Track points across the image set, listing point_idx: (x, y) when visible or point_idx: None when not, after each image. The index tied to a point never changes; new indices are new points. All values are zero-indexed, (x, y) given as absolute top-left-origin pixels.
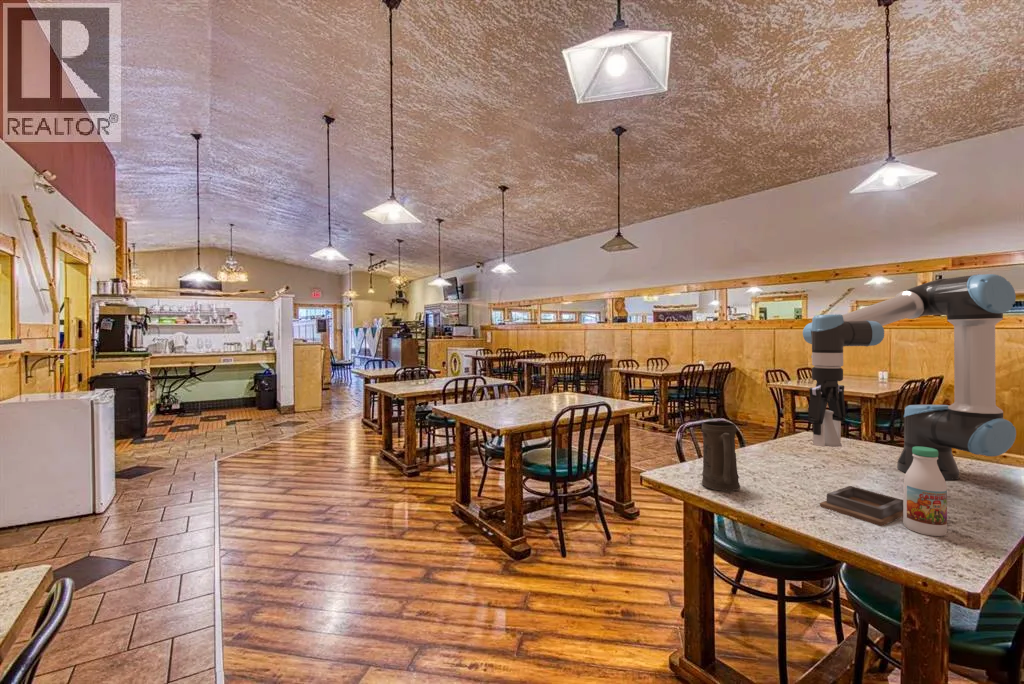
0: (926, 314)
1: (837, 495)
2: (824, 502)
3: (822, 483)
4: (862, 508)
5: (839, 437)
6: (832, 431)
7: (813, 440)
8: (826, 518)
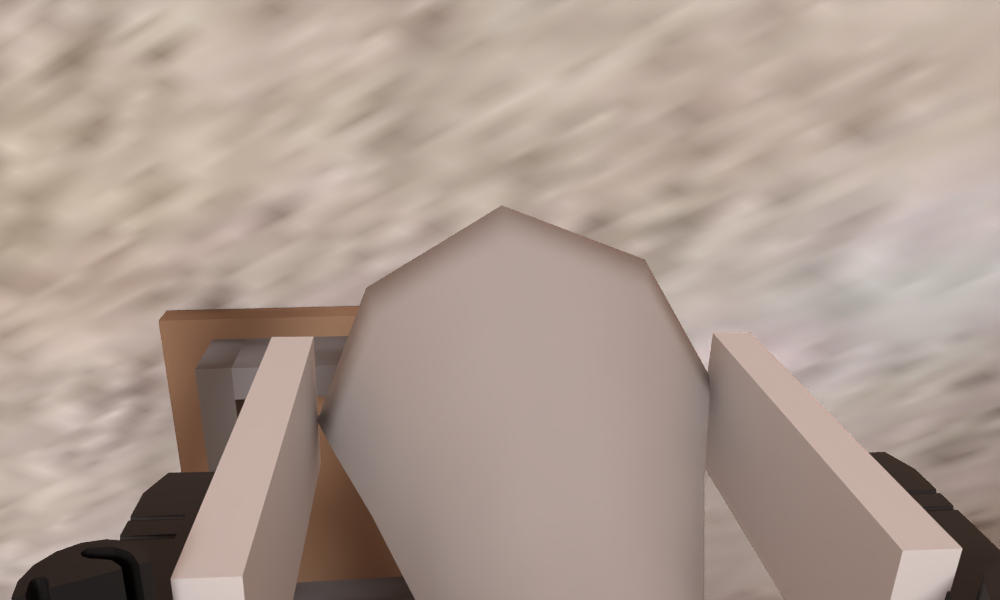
0: None
1: (235, 422)
2: (201, 330)
3: (718, 45)
4: None
5: (732, 501)
6: None
7: (259, 371)
8: (7, 432)
